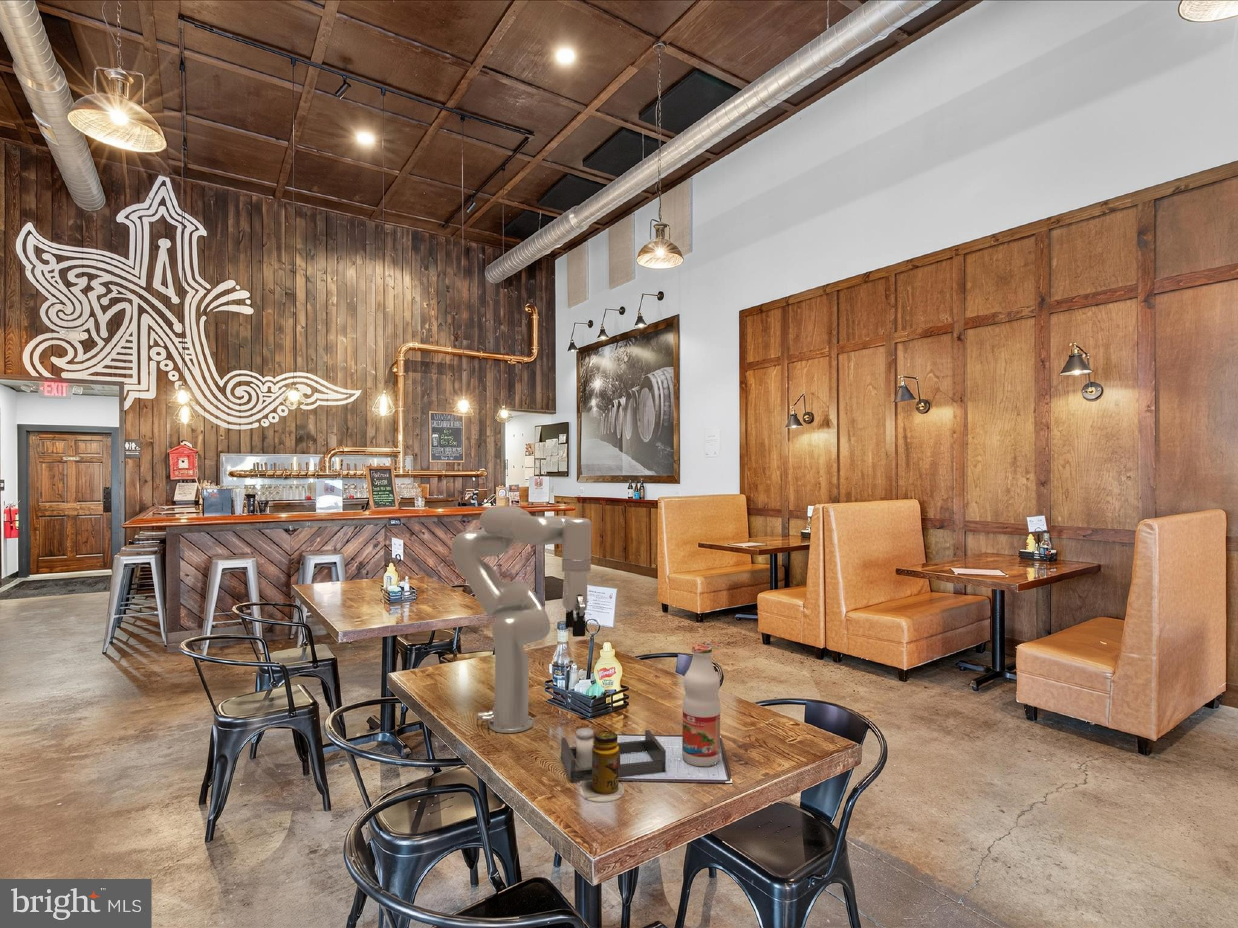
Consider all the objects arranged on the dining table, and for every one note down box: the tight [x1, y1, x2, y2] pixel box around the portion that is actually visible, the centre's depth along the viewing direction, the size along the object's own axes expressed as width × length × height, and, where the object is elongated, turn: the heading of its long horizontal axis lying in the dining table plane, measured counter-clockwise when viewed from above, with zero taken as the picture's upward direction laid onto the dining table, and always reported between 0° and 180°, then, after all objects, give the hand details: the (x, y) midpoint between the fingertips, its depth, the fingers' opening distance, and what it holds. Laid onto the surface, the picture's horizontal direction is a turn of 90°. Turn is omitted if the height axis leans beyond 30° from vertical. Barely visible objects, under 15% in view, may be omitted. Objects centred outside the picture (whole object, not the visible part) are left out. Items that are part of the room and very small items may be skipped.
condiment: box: [579, 730, 624, 799], centre depth 141 cm, size 7×8×12 cm
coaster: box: [579, 780, 625, 803], centre depth 140 cm, size 10×10×1 cm
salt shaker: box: [575, 727, 594, 769], centre depth 153 cm, size 4×4×8 cm
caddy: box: [560, 729, 667, 784], centre depth 153 cm, size 23×13×5 cm, turn 105°
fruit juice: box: [681, 644, 721, 767], centre depth 157 cm, size 9×9×28 cm
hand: (575, 631), depth 163 cm, fingers open, 9 cm apart
